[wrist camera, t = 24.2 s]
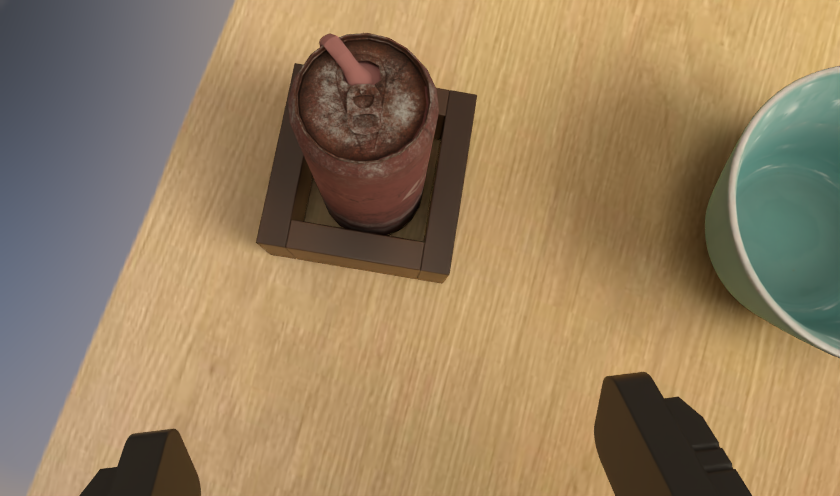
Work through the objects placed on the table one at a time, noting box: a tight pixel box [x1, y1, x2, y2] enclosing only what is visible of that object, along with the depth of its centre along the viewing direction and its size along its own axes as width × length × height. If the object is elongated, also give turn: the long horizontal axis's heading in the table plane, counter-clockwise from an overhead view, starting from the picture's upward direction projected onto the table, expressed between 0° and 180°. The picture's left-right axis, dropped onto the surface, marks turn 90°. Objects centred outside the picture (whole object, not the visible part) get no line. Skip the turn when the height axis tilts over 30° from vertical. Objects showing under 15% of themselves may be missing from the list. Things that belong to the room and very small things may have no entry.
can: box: [288, 33, 439, 236], centre depth 30 cm, size 6×6×14 cm
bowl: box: [705, 66, 840, 358], centre depth 34 cm, size 16×16×8 cm
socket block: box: [256, 63, 477, 283], centre depth 35 cm, size 11×11×4 cm
